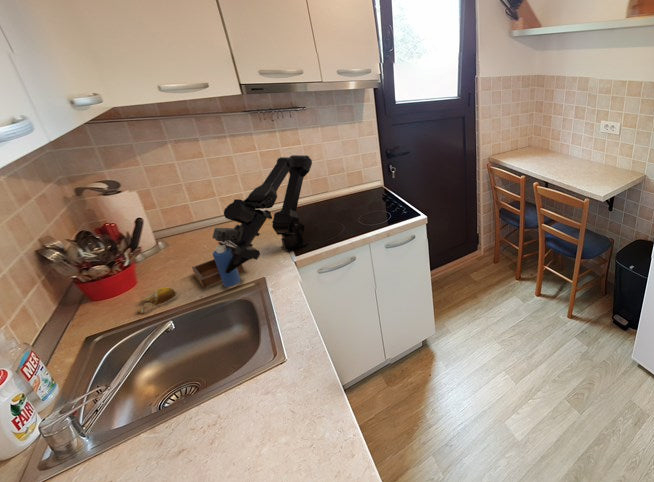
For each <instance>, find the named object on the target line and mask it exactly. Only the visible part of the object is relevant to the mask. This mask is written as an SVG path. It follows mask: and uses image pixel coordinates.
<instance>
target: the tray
mask: <svg viewBox="0 0 654 482" xmlns="http://www.w3.org/2000/svg"><path fill="white" fill-rule="evenodd" d="M237 269H238V272H239V274H241V273H243V272H245V269H244V266H243V264H241V265H240V266H238V267H237ZM191 270H192V272H193V274H194V276H195V278H196V279H197V280H198V282H199V283H200V284H201V286H202V287H203V288H208V287H209V286H211V285H214V284H217V283H219V282H222V280H221V277H220V274H219V271H218V268H217V265H216V262H215V259H214V258H213V259H210V260H207V261H205V262H202V263H199V264H197V265H194V266H191Z"/></svg>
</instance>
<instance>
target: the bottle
mask: <svg viewBox="0 0 654 482" xmlns="http://www.w3.org/2000/svg"><path fill="white" fill-rule="evenodd" d="M212 256H213V259H215V262H216V265H217V268H218V271H219V274H220V277H221V282H222V285H223V287H225V288H231V287H234V286H237V285H238V284H239V283H240V282H242V279H241V276H240V273H239V272H238V269H237V268H236V269H234V270H233V271H231V272H230V273H225V271H226V268H227V266H228V264H229V262H230V260H231V259H232V253H231V248H228V247H226V246H225V245H218V246H216V247H215V250H214V251H213V252H212Z"/></svg>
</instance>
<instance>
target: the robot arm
mask: <svg viewBox="0 0 654 482" xmlns="http://www.w3.org/2000/svg"><path fill="white" fill-rule="evenodd" d="M312 164H313V160H312V159H311V158H310V156H309V155H304V154H303V155H301V154H300V155H299V154H298V155H297V154H293V155H290V156H288V157H286V156H284V157H283V156H280V157H278V158H277V160H276V164H275V165H274V167H273V168H272V169H271V170H270V173H269V174H268V176H267V177H266V178H265V180H264V181H263V182H262V184H261V185H259V186H257V187H255V188H254V189H253V190H252V191H251V192H250V193H249V194H248V196H247V197H246V198H245V199H243V200H242V199H238V198H237V199H236V198H234V199H233V201H232V202H231V203H229V204H228V205H227V206H226V207H225V208H224V210H223V216H224V218H225V219H227V220H230V221H233V222H237V224H235V226H234V227H214V229H213V233H212V239H213V240H215V241H216V242H217V243H218V244H217V245H218V246H220V245H225V246H226V247H228V248H231V253H232V259H231V260H230V262H229V264H228V266H227V268H226V271H225V273H230V272H231V271H233V270H234V269H236V268H237V267H238V266H240V265H241V264H242V265H243V264H245V263H246V262H248V261H249V260H250V261H251V260H258V259H259V258H260V256H261V251H260V250H259V249H257V248H256V247H253V246H254V244H252V243H253V241H254V239H255V238H256V237H259V236H260V235H261V233H260V230H261V228H262V227H263V225H264V224H265V222H266V220H267V219H269V220H272V221H271V223H272V229H273V231H274V232H275V233H276V235H277V236H281V238H280V241H281V245H282V248H283V249H285V250H286V251H288V252H293V251H295V250H297V249H300V248H302V247H305V246H306V243H305V242H304V239H303V233H304V231H305V225H304V224H302V223H301V222H300V218H299V215H298V213H297V210H298V206H299V205H298V204H299V200H300V196H301V191H302V187H303V182H304V178H305V177H306V175H308V173H309V172H310V171H311V168H312V166H313V165H312ZM288 173H289V177H288V181H287V186H286V190H285V194H284V198H283V204H282V207H281V209H280V211H279V212H275V213H274V214H273V216H272V212H271V211H270V210H268V209H272V208H273V207H274V205H275V203H276V201H277V199H278V190H279V188H280V186H281V184H282V183H283V182H284V180H285V179H286V177H287V175H288ZM264 209H265V210H264ZM238 223H239V224H238Z"/></svg>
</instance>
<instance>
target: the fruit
mask: <svg viewBox="0 0 654 482" xmlns="http://www.w3.org/2000/svg"><path fill="white" fill-rule="evenodd" d="M175 296H176V291H175V290H174V289H173V288H171V287H159V288H158V289H156V291H154V292H152V294H149V295H148V296H146V297H145V298H144V299H142V301H144V300H145V301H144V303H145V304H143V303H140V305H143V306H146V307H153V306H155V305H160V304H163V303H166V302H168V301H170V300H171V299H173V298H174V297H175ZM144 308H145V307H142V308H141V309H139V311H138V312H139V313H141V314H142V313H145V312H146V310H145V309H144Z"/></svg>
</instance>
